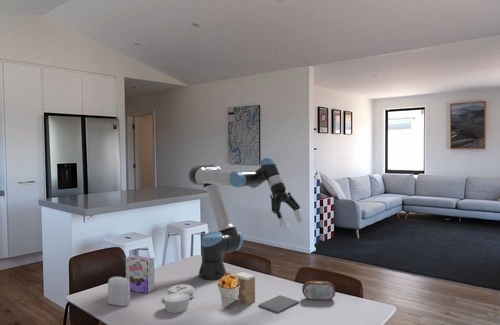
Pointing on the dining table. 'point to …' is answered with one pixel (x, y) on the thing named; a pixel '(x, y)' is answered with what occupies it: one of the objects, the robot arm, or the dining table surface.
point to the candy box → (140, 273)
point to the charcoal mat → (278, 304)
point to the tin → (318, 290)
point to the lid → (182, 289)
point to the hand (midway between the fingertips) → (292, 223)
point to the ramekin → (176, 302)
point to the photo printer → (119, 291)
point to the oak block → (246, 288)
